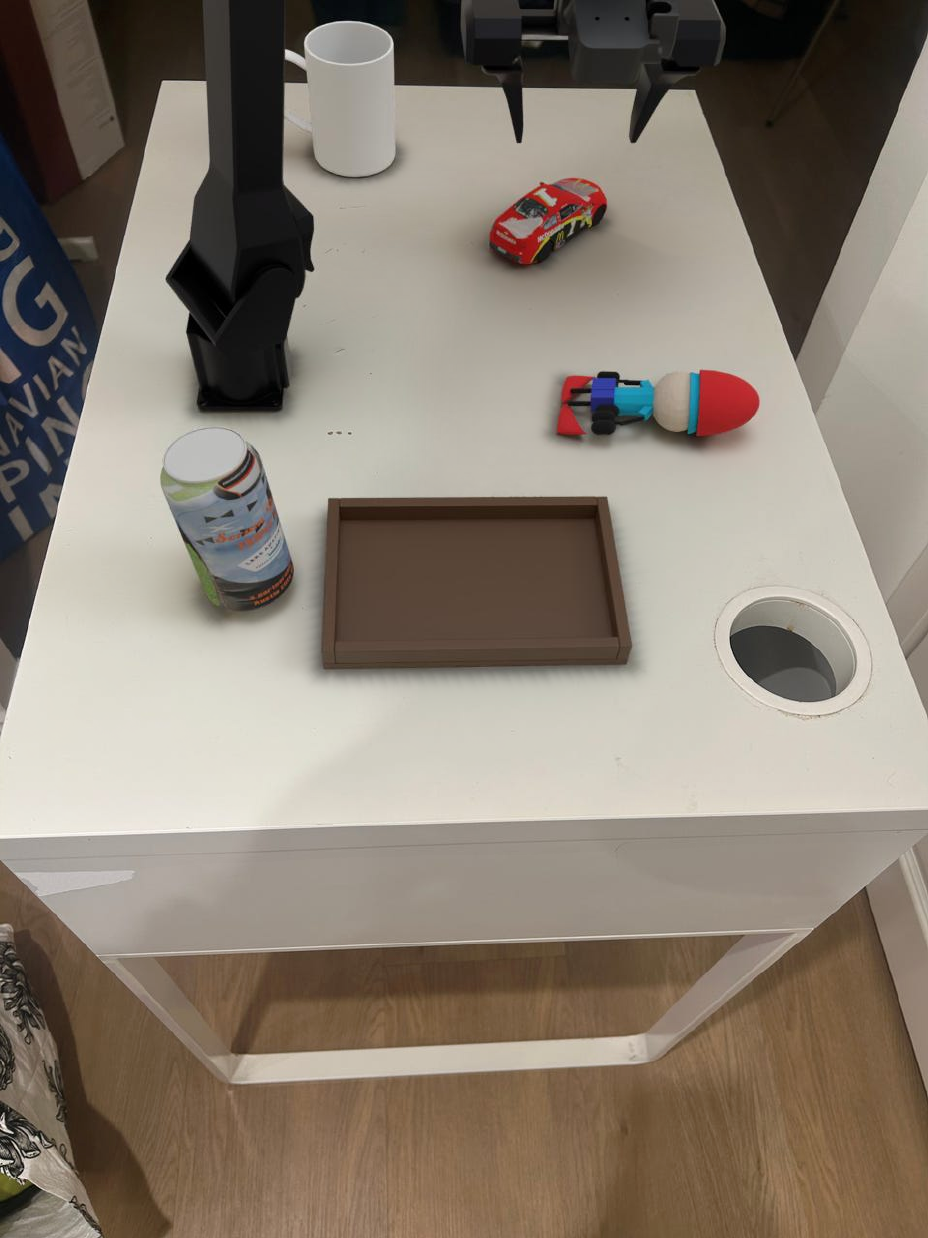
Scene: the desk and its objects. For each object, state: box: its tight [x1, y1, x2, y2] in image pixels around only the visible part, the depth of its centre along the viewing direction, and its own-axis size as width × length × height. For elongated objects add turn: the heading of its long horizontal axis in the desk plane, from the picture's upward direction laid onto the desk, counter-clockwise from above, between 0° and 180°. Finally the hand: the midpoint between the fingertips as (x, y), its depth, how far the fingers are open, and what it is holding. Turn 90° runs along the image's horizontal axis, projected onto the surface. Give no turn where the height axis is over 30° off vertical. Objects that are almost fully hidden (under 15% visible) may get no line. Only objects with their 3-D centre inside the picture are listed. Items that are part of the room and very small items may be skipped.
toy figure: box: [556, 369, 761, 437], centre depth 75 cm, size 8×5×15 cm
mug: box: [284, 20, 397, 178], centre depth 90 cm, size 12×8×10 cm, turn 95°
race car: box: [488, 177, 608, 265], centre depth 88 cm, size 13×5×4 cm, turn 136°
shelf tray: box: [320, 495, 633, 670], centre depth 65 cm, size 20×13×2 cm, turn 93°
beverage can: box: [159, 425, 295, 612], centre depth 61 cm, size 6×7×12 cm
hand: (575, 140), depth 78 cm, fingers open, 9 cm apart
